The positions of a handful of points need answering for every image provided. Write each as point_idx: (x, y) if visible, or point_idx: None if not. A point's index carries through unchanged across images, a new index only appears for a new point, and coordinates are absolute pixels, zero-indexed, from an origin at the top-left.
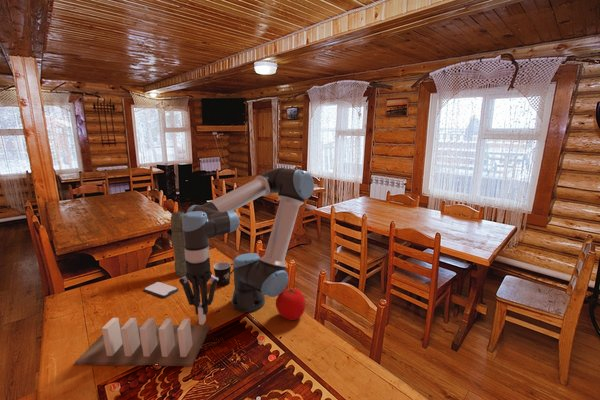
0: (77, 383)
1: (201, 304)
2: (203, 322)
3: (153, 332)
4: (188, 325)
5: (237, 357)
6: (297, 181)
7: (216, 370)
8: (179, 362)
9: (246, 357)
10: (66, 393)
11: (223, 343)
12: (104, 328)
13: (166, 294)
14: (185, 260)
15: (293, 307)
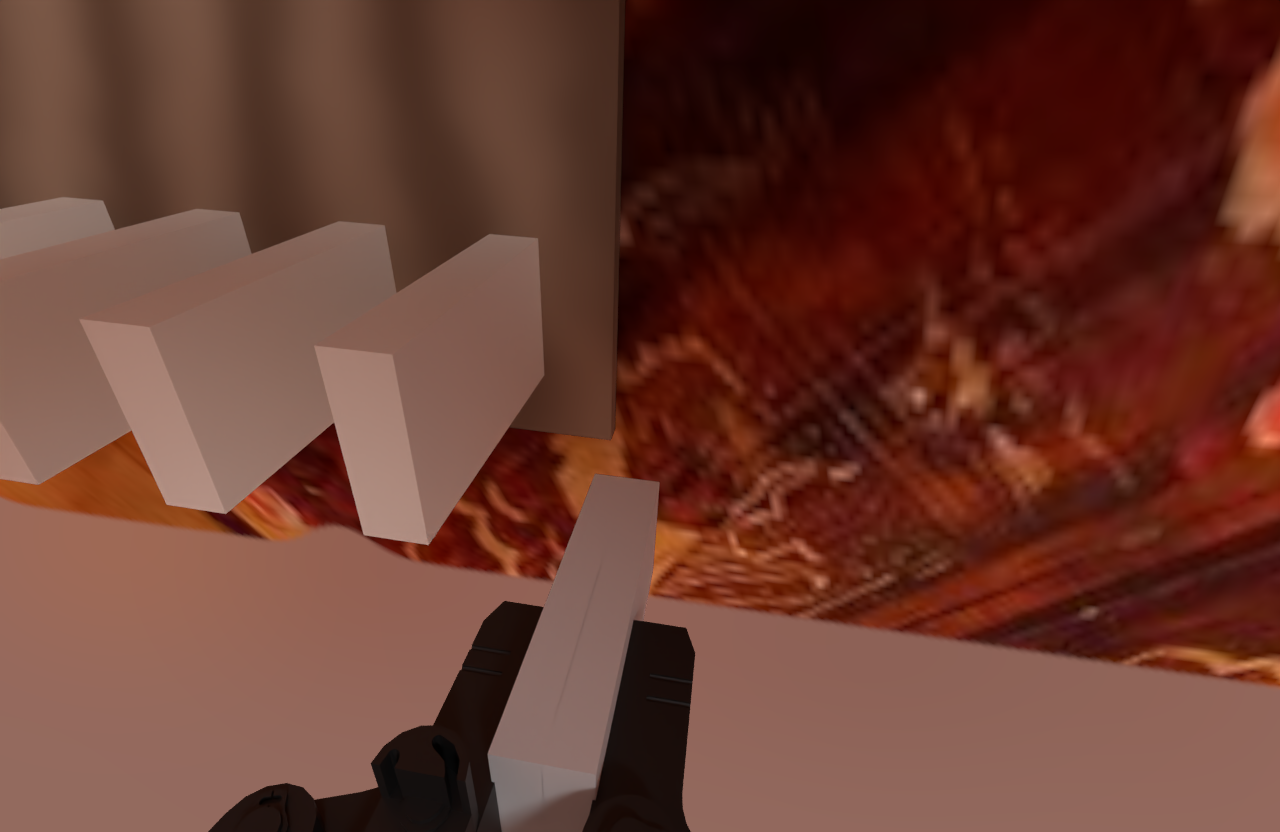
0: (75, 466)
1: (536, 797)
2: (649, 584)
3: (119, 296)
4: (435, 382)
5: (963, 383)
6: None
7: (797, 479)
8: (520, 420)
9: (1045, 391)
10: (92, 511)
11: (828, 195)
12: None
13: None
14: None
15: None
